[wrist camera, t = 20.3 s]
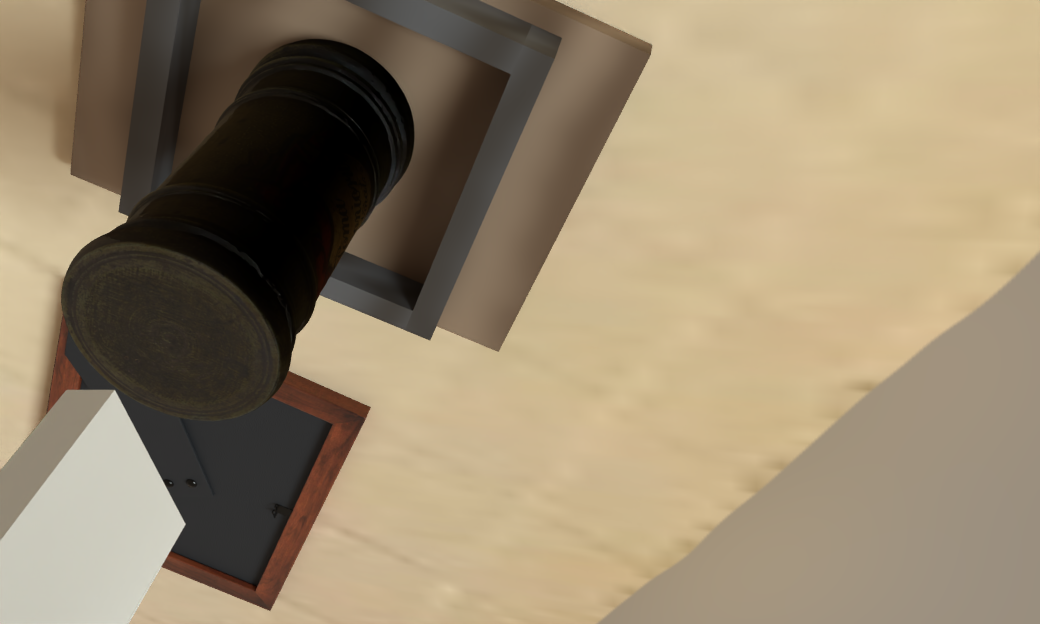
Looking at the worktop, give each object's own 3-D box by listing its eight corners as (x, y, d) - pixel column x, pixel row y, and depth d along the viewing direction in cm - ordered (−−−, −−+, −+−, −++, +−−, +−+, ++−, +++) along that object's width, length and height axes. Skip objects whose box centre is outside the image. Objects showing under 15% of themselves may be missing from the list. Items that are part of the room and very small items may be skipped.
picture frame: (82, 271, 60) (42, 496, 75) (64, 290, 58) (27, 516, 73) (373, 400, 62) (278, 593, 77) (364, 421, 61) (269, 613, 76)
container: (265, 194, 52) (93, 421, 37) (229, 32, 46) (12, 227, 32) (425, 203, 50) (310, 443, 36) (407, 37, 45) (263, 244, 31)
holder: (652, 45, 44) (647, 76, 41) (502, 339, 56) (490, 379, 54) (117, -200, 42) (72, -184, 39) (81, 164, 54) (45, 196, 51)
